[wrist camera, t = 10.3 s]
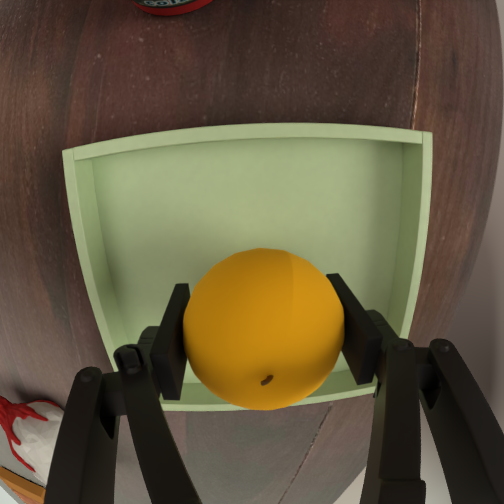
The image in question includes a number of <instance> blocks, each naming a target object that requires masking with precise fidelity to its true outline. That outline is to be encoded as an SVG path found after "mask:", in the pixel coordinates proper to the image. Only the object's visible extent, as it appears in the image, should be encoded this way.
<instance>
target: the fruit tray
mask: <svg viewBox="0 0 504 504" xmlns="http://www.w3.org/2000/svg"><path fill="white" fill-rule="evenodd" d="M62 155H63V165H64V174H65V183H66V190H67V197H68V204H69V210H70V216H71V222H72V227H73V232H74V237H75V242H76V247H77V252H78V256H79V260H80V265H81V269H82V273H83V277H84V281H85V284H86V288H87V292H88V295H89V299H90V302H91V306H92V309H93V312H94V315H95V319H96V322H97V325H98V328H99V331H100V334H101V337H102V340H103V343H104V345H105V348H106V351H107V354H108V356H109V359H110V362H111V364H112V367H113V369H114V372H117V371H118V368H117V366H116V363H115V360H114V358H113V353H114V351H115V350H116V349H117V348H119V347H120V346H122V345H125V344H137V342H138V340H139V337H140V335H141V333H142V331H143V330H144V329H145V328H146V327H148V326H160V323H161V321H162V318H163V315H164V313H165V310H166V307H167V305H168V302H169V300H170V297H171V294H172V292H173V289H174V287H175V284H178V283H189V290H190V297H191V295H192V292H193V289H194V287H195V285H196V284H197V283H198V282H199V281H200V280H201V279H202V278H203V276H204V275H205V274H206V273H207V272H208V271H209V270H210V269H211V268H212V267H213V266H214V265H215V264H217V263H219V262H220V261H222V260H224V259H226V258H227V257H229V256H231V255H233V254H234V253H238V252H242V251H246V250H251V249H255V248H269V249H279V250H285V251H287V252H290V253H292V254H294V255H297V256H299V257H301V258H303V259H306V260H307V261H309V262H310V263H312V264H313V265H314V266H315V267H316V268H317V269H318V270H319V271H320V272H321V273H323V274H324V275H325V276H326V274H332V273H339V275H340V276H341V277H342V279H343V280H344V281H345V283H346V284H347V286H348V287H349V288H350V290H351V291H352V292H353V294H354V295H355V297H356V298H357V299H358V301H359V302H360V304H361V305H362V306H363V308H364V309H365V310H371V309H374V310H376V311H378V312H379V313H381V314H382V316H383V317H384V318H385V320H386V321H387V322H388V323H389V325H390V326H391V327H392V329H393V330H394V331H395V333H396V334H397V335H398V337H399V338H404V339H407V338H408V334H409V330H410V326H411V322H412V318H413V313H414V309H415V304H416V299H417V294H418V289H419V284H420V278H421V273H422V267H423V260H424V254H425V246H426V239H427V230H428V221H429V210H430V198H431V180H432V133H431V132H425V131H417V130H409V129H401V128H391V127H381V126H369V125H354V124H334V123H255V124H235V125H220V126H207V127H196V128H187V129H178V130H170V131H162V132H155V133H148V134H141V135H135V136H129V137H123V138H117V139H112V140H107V141H102V142H97V143H92V144H87V145H83V146H78V147H74V148H70V149H65V150H63V151H62ZM377 381H378V379H377V377H376V375H375V374H374V378H373V381H372V383H368V384H363V385H358V386H357V384H356V382H355V380H354V377H353V375H352V373H351V371H350V369H349V366H348V364H347V362H346V360H345V358H344V356H343V353H342V351H341V352H340V354H339V357H338V360H337V362H336V365H335V367H334V369H333V370H332V371H331V373H330V374H329V375H328V377H327V378H326V379H325V381H324V382H323V383H322V385H321V386H320V387H319V388H318V389H317V390H315V391H314V392H313V393H311V394H310V395H309V396H307V397H306V398H304V399H303V400H301V401H299V402H296V403H294V404H292V405H289V406H295V405H303V404H311V403H318V402H325V401H331V400H337V399H343V398H349V397H354V396H359V395H364V394H369V393H374V392H375V388H376V385H377ZM159 400H160V403H161V406H162V409H163V410H171V411H227V410H249V409H247V408H243V407H240V406H236V405H233V404H231V403H229V402H227V401H225V400H223V399H221V398H220V397H218V396H216V395H215V394H213V393H212V392H211V391H210V390H209V389H208V388H207V387H206V386H205V385H204V384H203V383H202V382H201V381H200V380H199V379H198V378H197V377H196V376H195V374H194V373H193V371H192V369H191V366H190V364H189V361H188V359H187V364H186V370H185V375H184V380H183V386H182V391H181V397H180V401H176V400H163V397H162V394H160V398H159Z"/></svg>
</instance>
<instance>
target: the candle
mask: <svg viewBox="0 0 504 504" xmlns="http://www.w3.org/2000/svg"><path fill="white" fill-rule="evenodd" d="M59 407H60V406H58V405H57V404H55V403H54V402H51V401H47V400H45V401H44V400H37V401H33V402H29V403H27V404H26V403H20V404H16V403H14V404H12V403H11V402H9V401H8V400H7V399H6V398H4V397H2V396H0V424H1V426H2V428H3V429H4V431H5V433H6V435H7V438H8V441H9V444H10V448H11V451H12V453H13V455H14V456H15V457H16V458H17V459H18V460H19V461H20V462H21V463H23V464H24V465H25V466H26V467H27V468H28V469H30V470H31V471H32V473H33V475H34V476H35V477H36V478H37V479H39V480H40V481H42V482H43V483H44V484H46V485H47V480H48V475H49V470H50V465H51V461H52V456H53V452H54V448H55V444H56V440H57V436H58V432H59V428H60V425H61V421H62V418H63V414H64V411H63V410H62V409H60V408H59Z"/></svg>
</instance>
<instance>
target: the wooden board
mask: <svg viewBox="0 0 504 504" xmlns="http://www.w3.org/2000/svg"><path fill="white" fill-rule="evenodd" d="M0 478H1V479H2V480H3V481H4V483H5V484H6V485H7V486H8V487H9V488H11V489H12V491H13V492H15V493H16V494H17V495H18V496H19V498H21V500H22V501H24V502H25V503H26V504H43V503H44V496H45V491H46V490H45V489H44V488H42V487H40V486H38V485H36V484H34V483H32V482H30V481H27V480H25V479H23V478H21V477H19V476H18V475H16V474H14V473H12V472H10V471H8V470H6V469H5V468H3V467H0Z"/></svg>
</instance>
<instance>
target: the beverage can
mask: <svg viewBox="0 0 504 504" xmlns="http://www.w3.org/2000/svg"><path fill="white" fill-rule="evenodd" d="M131 1H132V2H133V3H134V4H135V5H136V6H137V7H138V8H140V9H141V10H143V11H145V12H148V13H151V14H155V15H165V16H168V15H179V14H184V13H188V12H191V11H194V10H196V9H199V8H201V7H203V6H205V5H207V4H208V3H210V2H211V1H213V0H131Z"/></svg>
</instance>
